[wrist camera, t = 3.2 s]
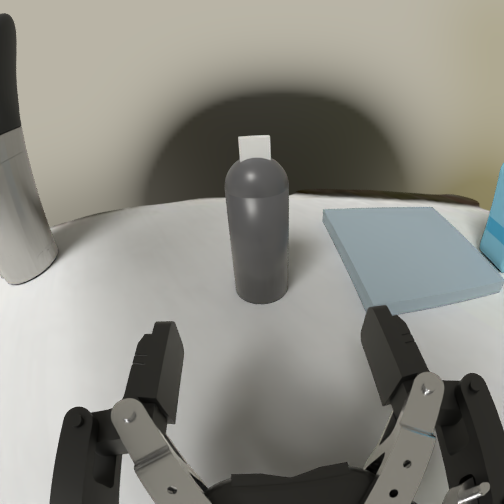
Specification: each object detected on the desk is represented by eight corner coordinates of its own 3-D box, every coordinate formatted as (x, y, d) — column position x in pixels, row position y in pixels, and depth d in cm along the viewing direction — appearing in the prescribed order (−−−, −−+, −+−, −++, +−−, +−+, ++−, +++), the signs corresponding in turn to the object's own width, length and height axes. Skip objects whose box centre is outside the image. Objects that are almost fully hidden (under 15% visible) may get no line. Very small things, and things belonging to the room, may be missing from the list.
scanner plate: (369, 318, 20) (373, 305, 20) (322, 220, 34) (323, 209, 33) (499, 292, 20) (504, 280, 20) (430, 216, 34) (432, 207, 33)
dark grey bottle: (235, 305, 23) (217, 146, 16) (236, 272, 26) (222, 133, 20) (290, 301, 23) (293, 142, 16) (284, 268, 26) (282, 130, 20)
